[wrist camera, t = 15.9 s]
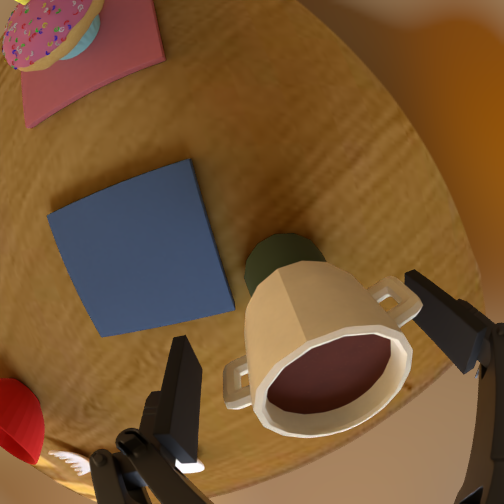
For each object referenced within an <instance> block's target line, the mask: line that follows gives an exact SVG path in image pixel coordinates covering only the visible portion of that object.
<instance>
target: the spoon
mask: <svg viewBox="0 0 504 504" xmlns="http://www.w3.org/2000/svg"><path fill="white" fill-rule="evenodd" d="M48 454H55V455H54V456H55V457H59V459H68V460H66V461H65V463H75V464H73V465H71V466H70V467H77V468H75V469H74V471H80V472H78V475H79V476H80V475H83V474H86V473H88V472H90V465H89V458H87V457H85V456H83V455H81V454H78V453H74V452H68V451H57V450H50V451H49V452H48ZM60 456H61V457H60ZM175 466H176V467H177V468H178V469H179V470H180V471H181V472H182V473H195V472H200V471H203V470H204V465H203V463H202V462H201V461H200V460H199V459H198V458H197V463H188V464H181V463H180V462H179V461H178V460H177V459H176V465H175Z"/></svg>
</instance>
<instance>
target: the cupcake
mask: <svg viewBox="0 0 504 504" xmlns="http://www.w3.org/2000/svg"><path fill="white" fill-rule="evenodd" d="M15 1H17V2H19V4H18V5H17V7H16V8H15V10H14V11H13V12H12V13H11V17H10V18H9V20H8V23H7V25H6V26H5V33H4V37H3V40H2V41H3V43H2V44H3V48H2V52H3V55H4V56H5V59H6V60H5V59H4V60H5V62H6V61H7V62H8V64H9V65H10V66H11V67H13V68H14V69H17V68H18V69H19V70H21V71H24V72H28V71H38V70H44V69H47V68H49V67H50V66H51V65H53V64H54V63H55V62H56V61H58V60H66V59H70V58H73V57H75V56H77V55H79V54H80V53H81V52H83V51H84V50H85V49H86V48H87V47H88V46H89V45H90V44H91V43H92V41H93V40H94V39H95V37H96V35H97V33H98V31H99V28H100V18H99V15H98V14H99V13H100V12H101V10H102V8H103V4H104V1H105V0H15Z"/></svg>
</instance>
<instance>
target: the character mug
mask: <svg viewBox="0 0 504 504" xmlns="http://www.w3.org/2000/svg"><path fill="white" fill-rule="evenodd" d="M244 279H245V281H246V284H247V287H248V290H249V293H250V295H251V300H250V302H249V304H248V306H247V309H246V314H245V329H244V336H245V346H246V355H244V356H242V357H240V358H238V359H236V360H234V361H231V362H230V363H229V364H227V365H226V366H225V368H224V371H223V398H224V401H225V404H226V406H227V409H241V408H244V407H247V406H249V405H252V406H253V410H254V412H255V414H256V415H257V417H258V418H259V420H260V422H261V423H262V425H263V426H264V427H266V428H268V429H270V430H272V431H274V432H276V433H279V434H281V435H284V436H291V437H300V438H312V437H320V436H328V435H332V434H336V433H339V432H342V431H345V430H348V429H350V428H353V427H355V426H357V425H359V424H361V423H363V422H364V421H366V420H368V419H369V418H371V417H372V416H374V415H375V414H376V413H378V412H379V411H380V410H382V409H383V408H384V407H385V406H386V405H387V404H388V403H389V402H390V401H391V400H392V399H393V398H394V396H395V395H396V394H397V393H398V392H399V391H400V389H401V387H402V386H403V384H404V382H405V380H406V378H407V376H408V374H409V372H410V370H411V361H412V352H413V349H412V348H411V346H410V344H409V343H408V341H407V339H406V338H405V336H404V334H403V333H402V331H401V330H400V327H401V326H403V325H404V324H405V323H407V322H408V321H410V320H411V319H413V318H414V317H415V316H416V315H417V314H418V313H419V312H420V310H421V308H422V306H423V304H422V302H421V300H420V298H419V297H418V296H417V295H416V294H415V293H414V292H413V291H411V290H410V289H409V288H408V287H407V286H406V285H404V284H403V283H402V282H401V281H400V280H399V279H397V278H396V277H393V276H389V277H386V278H384V279H382V280H381V281H379V282H377V283H376V284H374V285H373V286H371V287H370V288H368V289H365V288H364V287H363V286H362V285H361V284H360V283H359V282H358V281H357V280H356V279H355V278H354V276H353V275H352V274H350V273H348V272H346V271H344V270H342V269H340V268H338V267H336V266H334V265H332V264H329V263H327V262H326V260H325V258H324V256H323V255H322V253H321V252H320V251H319V249H318V248H317V247H316V246H315V245H314V244H313V242H312V241H311V240H309V239H307V238H304V237H302V236H299V235H297V234H294V233H288V234H274V235H272V236H270V237H269V238H267V239H265V240H263V241H262V242H260V243H258V244H257V245H256V247H255V248H254V250H253V251H252V253H251V254H250V256H249V257H248V259H247V261H246V268H245V275H244ZM389 296H391V297H393V298H394V299H395V300H396V301H397V302H398V303H399V304H398V305H397V306H395V307H394V308H392V309H391V310H389V311H388V312H386V311H385V310H384V309H383V308H382V307H381V306H380V305H379V304H378V303H379V302H381V301H382V300H384V299H385V298H387V297H389ZM247 373H248V375H249V384H250V385H248V386H246V387H243V388H241V376H243V375H244V374H247Z"/></svg>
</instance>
